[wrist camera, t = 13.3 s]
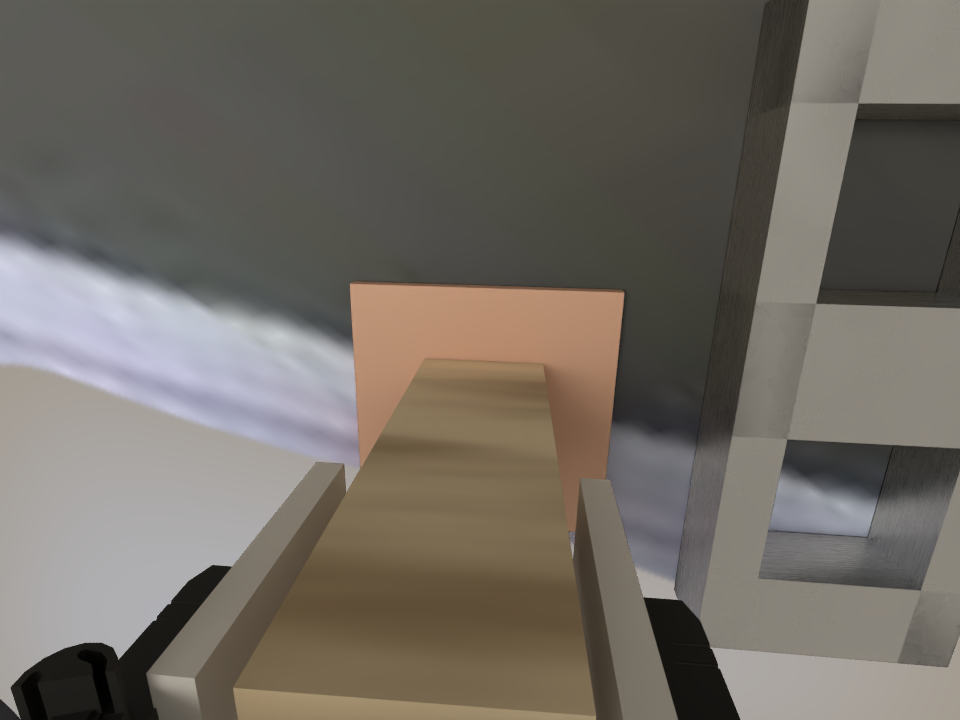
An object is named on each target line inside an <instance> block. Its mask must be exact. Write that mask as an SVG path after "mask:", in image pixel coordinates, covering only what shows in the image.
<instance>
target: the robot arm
mask: <svg viewBox="0 0 960 720" xmlns="http://www.w3.org/2000/svg"><path fill="white" fill-rule="evenodd" d="M345 494H346V484H345V470H344V464H341V463H325V462H316V463H315V465H314V466H313V467H312V469H311V470H310V471H309V472H308V473H307V475H306V476H305V477H304V478H303V480H302V481H301V482H300V483H299V485H298V486H297V487H296V488H295V490H294V491H293V492H292V493H291V494H290V496H289V497H288V498H287V499H286V501H285V502H284V503H283V504H282V506H281V507H280V508H279V509H278V511H277V512H276V513H275V514H274V516H273V517H272V518H271V519H270V521H269V522H268V523H267V524H266V525H265V527H264V528H263V529H262V531H261V532H260V533H259V534H258V535H257V537H256V538H255V539H254V540H253V542H252V543H251V544H250V545H249V547H248V548H247V549H246V550H245V551H244V553H243V554H242V555H241V556H240V558H239V559H238V560H237V561H236V563H235V564H234V565H233V566H232V567H229V566H216V565H212V566H211V567H209V568H208V569H206V570H205V571H203V572H202V573H200V574H199V575H197V576H196V577H194V578H193V579H191V580H190V581H188V582H187V584H186V585H185V586H184V587H183V588H182V589H181V590H180V591H179V593H178V594H177V595H176V596H175V597H174V598H173V600H172V601H171V604H168V605H167V606H166V607H165V608H164V610H163V611H162V612H161V613H160V614H159V615H158V616H157V620H156V621H153V622H152V623H151V624H150V625H149V626H148V627H147V629H146V630H145V631H144V632H143V633H142V634H141V635H140V636H139V638H138V639H137V640H136V641H135V642H134V643H133V644H132V646H131V647H130V648H129V649H128V650H127V651H126V652H125V653H124V655H123V656H122V657H121V658H120V659H119V660H118V657H117V655H116V653H115V651H114V649H113V648H112V647H110V646H108V645H105V644H103V643H83V644H79V645H76V646H72V647H68V648H65V649H63V650H60V651H58V652H56V653H54V654H52V655H50V656H48V657H46V658H44V659H42V660H41V661H40V662H38V663H37V664H35V665H34V666H33V667H31V668H30V669H28V670H27V671H26V672H24V673H23V675H22V676H21V677H20V678H19V679H18V680H17V681H16V682H15V683H14V685H12V687H11V691H12V694H13V697H14V700H15V703H16V706H17V709H18V712H19V715H20V718H21V719H20V718H19V717H18V716H17V715H16V714H15V713H14V712H13V711H12V710H11V709H10V708H9V707H8V706H7V705H6V704H5V703H4V702H3V701H2V700H0V720H238V716H237V710H236V704H235V698H234V692H233V687H234V685H235V683H236V682H237V680H238V678H239V677H240V675H241V673H242V671H243V670H244V668H245V666H246V665H247V663H248V661H249V659H250V658H251V656H252V654H253V653H254V651H255V649H256V647H257V646H258V644H259V642H260V640H261V639H262V637H263V635H264V634H265V632H266V630H267V628H268V627H269V625H270V623H271V622H272V620H273V618H274V616H275V615H276V613H277V611H278V610H279V608H280V606H281V604H282V603H283V601H284V599H285V597H286V596H287V594H288V592H289V591H290V589H291V587H292V585H293V584H294V582H295V580H296V579H297V577H298V575H299V573H300V572H301V570H302V568H303V567H304V565H305V563H306V561H307V560H308V558H309V556H310V555H311V553H312V551H313V549H314V548H315V546H316V544H317V542H318V541H319V539H320V537H321V536H322V534H323V532H324V530H325V529H326V527H327V525H328V524H329V522H330V520H331V518H332V517H333V515H334V513H335V512H336V510H337V508H338V506H339V505H340V503H341V501H342V500H343V498H344V496H345ZM573 565H574V572H575V578H576V585H577V592H578V598H579V605H580V612H581V618H582V625H583V631H584V638H585V645H586V651H587V658H588V665H589V671H590V678H591V685H592V691H593V698H594V705H595V711H596V720H740V718H739V715H738V713H737V710H736V708H735V705H734V703H733V700H732V698H731V696H730V693H729V690H728V688H727V685H726V683H725V680H724V678H723V676H722V673H721V671H720V669H718V664H717V661H716V658H715V656H714V653H713V651H712V649H710V643H709V641H708V638H707V636H706V633H705V631H704V628H703V626H702V623H701V621H700V620H699V619H698V618H697V617H696V615H695V614H694V613H693V612H692V611H691V610H690V609H689V608H688V607H687V605H686V604H685V603H684V602H683V601H682V600H670V599H657V598H645V597H643V595H642V591H641V588H640V584H639V581H638V577H637V574H636V570H635V567H634V563H633V560H632V556H631V553H630V549H629V546H628V542H627V539H626V535H625V532H624V528H623V525H622V521H621V518H620V514H619V511H618V507H617V503H616V500H615V496H614V493H613V489H612V486H611V482H610V480H604V479H588V478H580V483H579V495H578V507H577V519H576V531H575V543H574V555H573Z"/></svg>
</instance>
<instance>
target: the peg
mask: <svg viewBox="0 0 960 720" xmlns="http://www.w3.org/2000/svg"><path fill="white" fill-rule="evenodd" d="M233 692H234V698H235V704H236V710H237V716H238V720H596V711H595V705H594V698H593V691H592V685H591V678H590V671H589V665H588V658H587V651H586V645H585V638H584V631H583V625H582V618H581V612H580V605H579V598H578V592H577V585H576V578H575V572H574V565H573V558H572V552H571V545H570V539H569V532H568V525H567V519H566V512H565V505H564V499H563V492H562V485H561V479H560V472H559V466H558V459H557V452H556V446H555V439H554V432H553V426H552V419H551V412H550V406H549V399H548V392H547V386H546V379H545V373H544V366H543V363H522V362H495V361H468V360H441V359H424V360H423V362H422V364H421V365H420V367H419V369H418V371H417V372H416V374H415V376H414V377H413V379H412V381H411V383H410V384H409V386H408V388H407V389H406V391H405V393H404V395H403V396H402V398H401V400H400V402H399V403H398V405H397V407H396V408H395V410H394V412H393V414H392V415H391V417H390V419H389V420H388V422H387V424H386V426H385V427H384V429H383V431H382V432H381V434H380V436H379V438H378V439H377V441H376V443H375V444H374V446H373V448H372V450H371V451H370V453H369V455H368V457H367V458H366V460H365V462H364V463H363V465H362V467H361V469H360V470H359V472H358V474H357V475H356V477H355V479H354V481H353V482H352V484H351V486H350V487H349V489H348V491H347V493H346V494H345V496H344V498H343V500H342V501H341V503H340V505H339V506H338V508H337V510H336V512H335V513H334V515H333V517H332V518H331V520H330V522H329V524H328V525H327V527H326V529H325V530H324V532H323V534H322V536H321V537H320V539H319V541H318V542H317V544H316V546H315V548H314V549H313V551H312V553H311V555H310V556H309V558H308V560H307V561H306V563H305V565H304V567H303V568H302V570H301V572H300V573H299V575H298V577H297V579H296V580H295V582H294V584H293V585H292V587H291V589H290V591H289V592H288V594H287V596H286V597H285V599H284V601H283V603H282V604H281V606H280V608H279V610H278V611H277V613H276V615H275V616H274V618H273V620H272V622H271V623H270V625H269V627H268V628H267V630H266V632H265V634H264V635H263V637H262V639H261V640H260V642H259V644H258V646H257V647H256V649H255V651H254V653H253V654H252V656H251V658H250V659H249V661H248V663H247V665H246V666H245V668H244V670H243V671H242V673H241V675H240V677H239V678H238V680H237V682H236V683H235V685H234V687H233Z"/></svg>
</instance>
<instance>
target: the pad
mask: <svg viewBox="0 0 960 720" xmlns="http://www.w3.org/2000/svg"><path fill="white" fill-rule="evenodd" d="M350 294H351V311H352V329H353V346H354V364H355V381H356V398H357V416H358V433H359V451H360V468H361V467H362V465H363V463H364V462H365V460H366V458H367V457H368V455H369V453H370V451H371V450H372V448H373V446H374V444H375V443H376V441H377V439H378V438H379V436H380V434H381V432H382V431H383V429H384V427H385V426H386V424H387V422H388V420H389V419H390V417H391V415H392V414H393V412H394V410H395V408H396V407H397V405H398V403H399V402H400V400H401V398H402V396H403V395H404V393H405V391H406V389H407V388H408V386H409V384H410V383H411V381H412V379H413V377H414V376H415V374H416V372H417V371H418V369H419V367H420V365H421V364H422V362H423V360H424V359H441V360H468V361H495V362H522V363H543V366H544V373H545V379H546V386H547V392H548V399H549V406H550V412H551V419H552V426H553V432H554V439H555V446H556V452H557V459H558V466H559V472H560V479H561V485H562V492H563V499H564V505H565V512H566V519H567V525H568V531H573V532H575V531H576V519H577V507H578V495H579V483H580V478H588V479H604V480H606V472H607V462H608V452H609V442H610V432H611V422H612V412H613V402H614V392H615V382H616V372H617V362H618V352H619V342H620V332H621V322H622V312H623V302H624V292H623V291H622V290H612V289H580V288H549V287H517V286H486V285H454V284H423V283H391V282H360V281H355V282H353V283H351V284H350Z"/></svg>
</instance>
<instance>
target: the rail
mask: <svg viewBox="0 0 960 720" xmlns="http://www.w3.org/2000/svg"><path fill="white" fill-rule="evenodd" d="M855 120H960V0H770V1H769V2H767V3H766V4H765V9H764V16H763V22H762V29H761V35H760V41H759V48H758V54H757V61H756V67H755V74H754V80H753V86H752V93H751V99H750V106H749V112H748V119H747V125H746V131H745V138H744V144H743V151H742V157H741V164H740V170H739V176H738V183H737V189H736V196H735V202H734V209H733V215H732V221H731V228H730V234H729V241H728V247H727V254H726V260H725V266H724V273H723V279H722V286H721V292H720V299H719V305H718V311H717V318H716V324H715V331H714V337H713V344H712V350H711V356H710V363H709V369H708V376H707V382H706V389H705V395H704V401H703V408H702V414H701V421H700V427H699V434H698V440H697V446H696V453H695V459H694V466H693V472H692V479H691V485H690V491H689V498H688V504H687V511H686V517H685V524H684V530H683V536H682V543H681V549H680V556H679V562H678V569H677V575H676V581H675V588H674V590H675V593H676V596H677V598H678V600H682V601H683V602H684V603H685V604H686V605H687V607H688V608H689V609H690V610H691V611H692V612H693V613H694V614H695V615H696V617H697V618H698V619H699V620H700V621H701V623H702V626H703V628H704V631H705V633H706V636H707V638H708V641H709V643H710V647H714V648H726V649H738V650H749V651H762V652H773V653H786V654H797V655H808V656H809V655H810V656H820V657H832V658H844V659H856V660H867V661H878V662H891V663H902V664H914V665H925V666H937V667H948V665H949V663H950V660H951V657H952V655H953V652H954V649H955V646H956V643H957V641H958V638H959V635H960V211H959V215H958V218H957V222H956V225H955V229H954V233H953V236H952V240H951V243H950V247H949V250H948V254H947V258H946V261H945V265H944V268H943V272H942V275H941V279H940V283H939V286H938V290H937V293H931V292H899V291H866V290H834V289H819V288H820V283H821V278H822V273H823V269H824V264H825V259H826V254H827V250H828V245H829V240H830V236H831V231H832V226H833V221H834V217H835V212H836V207H837V203H838V198H839V193H840V188H841V184H842V179H843V174H844V170H845V165H846V160H847V155H848V151H849V146H850V141H851V137H852V132H853V127H854V122H855ZM787 439H791V440H810V441H828V442H847V443H866V444H885V445H894V447H893V450H892V454H891V458H890V461H889V465H888V468H887V472H886V475H885V479H884V483H883V486H882V490H881V493H880V497H879V500H878V504H877V508H876V511H875V515H874V518H873V522H872V525H871V529H870V533H869V536H868V538H865V537H851V536H836V535H821V534H806V533H791V532H776V531H768V528H769V523H770V519H771V514H772V509H773V505H774V500H775V495H776V490H777V486H778V481H779V476H780V472H781V467H782V462H783V457H784V453H785V448H786V443H787Z"/></svg>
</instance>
